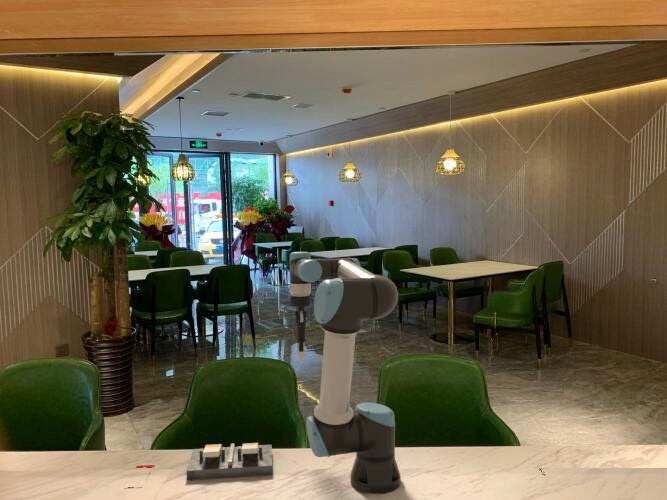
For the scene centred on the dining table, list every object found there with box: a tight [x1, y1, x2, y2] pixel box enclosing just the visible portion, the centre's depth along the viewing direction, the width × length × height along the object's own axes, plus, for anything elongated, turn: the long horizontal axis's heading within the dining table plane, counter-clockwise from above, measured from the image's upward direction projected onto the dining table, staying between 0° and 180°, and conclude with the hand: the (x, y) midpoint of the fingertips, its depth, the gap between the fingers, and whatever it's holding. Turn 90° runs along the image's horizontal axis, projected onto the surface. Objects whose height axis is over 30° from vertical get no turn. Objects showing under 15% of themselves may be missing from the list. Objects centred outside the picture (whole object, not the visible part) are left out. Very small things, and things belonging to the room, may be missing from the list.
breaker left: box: [203, 443, 223, 457], centre depth 171 cm, size 10×5×2 cm, turn 7°
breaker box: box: [186, 443, 273, 481], centre depth 172 cm, size 16×26×6 cm, turn 97°
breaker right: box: [242, 442, 259, 454], centre depth 173 cm, size 10×5×2 cm, turn 8°
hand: (301, 359), depth 192 cm, fingers closed
